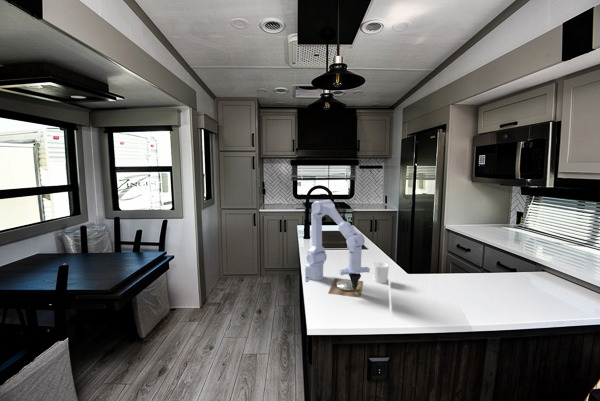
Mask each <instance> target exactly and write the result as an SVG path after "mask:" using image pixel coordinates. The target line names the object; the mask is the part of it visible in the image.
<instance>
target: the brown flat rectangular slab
mask: <svg viewBox="0 0 600 401" xmlns="http://www.w3.org/2000/svg"><path fill="white" fill-rule="evenodd" d="M340 280H349V279H347V278H339V277H334V279H333V281H332V283H331V285H330V288H329V290H328V293H327V294H329V295H336V296H337V295H338V296H342V297H343V296H344V297H351V298H352V297H353V298H360V299H361V297H362V296H361V295H362V291H363V284H364V281H363V280H359V281H358V282H361V291H360V292H357V291H355V290H353V291H343V290H340V289H338V288H337V287H336V283H337V282H338V281H340Z"/></svg>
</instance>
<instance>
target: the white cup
mask: <svg viewBox="0 0 600 401" xmlns="http://www.w3.org/2000/svg"><path fill="white" fill-rule="evenodd" d="M389 267H390V266H389V264H388V263H387V262H384V261H375V262H373V263H372V277H373V282H375V283H377V284H386V283H387V282H388V276H389Z"/></svg>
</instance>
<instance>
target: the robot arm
mask: <svg viewBox="0 0 600 401" xmlns="http://www.w3.org/2000/svg"><path fill="white" fill-rule="evenodd" d="M335 205H336V204H334V202H333V201H332V200H331V199H325V200H324V199H323V200H315V201H313V203H312V204H311V213H310V215H311V218H310V219H311V247H310V248H308V250H307V255H306V262H307V263H306V264H305V270H304V272H305V275H304V276H305V277H304V282H309V281H310V280H312V281H322V280H323V279H324V264H325V262H326V261H327V258H328V257H327V254H326V253H327V252H326V248H325V247H324V246H323V230H322V229H323V226H322V225H323V222H322V219H323V217H324V216H325V215H327V216H329V217H330V218H331V219H332V220H333V221H334V223H336V224H337V225H338V231H339V232H340V234H342V236H343V237H344V239H346V240H345V242H346V245H347V250H348V267H345V268H343V269H339V270H338V272H339V275H340V276H344V275H348V276H349V280H351V282H352V287H353V288H354V289H356V285H357V283H358V281H360V279H361V278H362V273H363V274H364V273H370V271H371V270H370V269H371V268H370V267H368V266H362V246H363V245H364V244H365V237H364V236H363V234H362V233H359V232H358V231H356V230H355V229H354V227H353V226H352V224H351V222H348V221H344V219H343V217H342V216H341V215H340V213H339V212H338V210H337V209H336V206H335Z"/></svg>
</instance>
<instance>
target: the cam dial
mask: <svg viewBox="0 0 600 401" xmlns="http://www.w3.org/2000/svg"><path fill="white" fill-rule="evenodd" d="M336 287H337V288H338V289H340V290H343V291H353V290H355V291H357V292H360V291H361V282H358V283H357V285H356V289H354V288H353V287H352V282H351V279H348V280H340V281H338V282H337V283H336ZM361 292H362V291H361Z"/></svg>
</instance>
